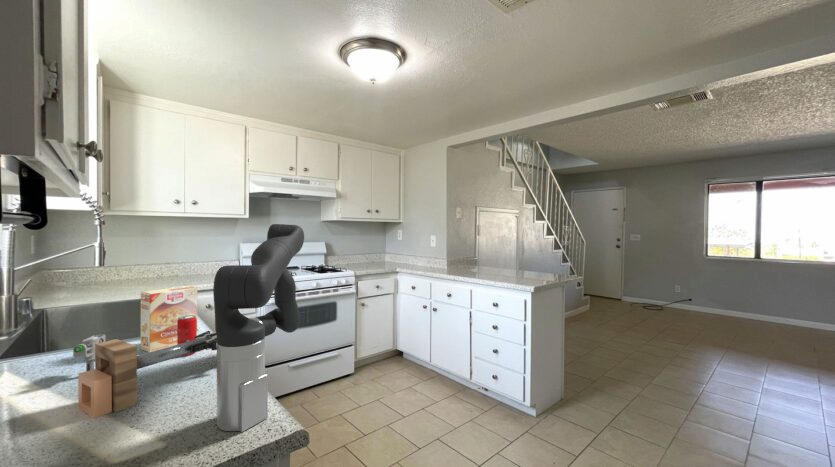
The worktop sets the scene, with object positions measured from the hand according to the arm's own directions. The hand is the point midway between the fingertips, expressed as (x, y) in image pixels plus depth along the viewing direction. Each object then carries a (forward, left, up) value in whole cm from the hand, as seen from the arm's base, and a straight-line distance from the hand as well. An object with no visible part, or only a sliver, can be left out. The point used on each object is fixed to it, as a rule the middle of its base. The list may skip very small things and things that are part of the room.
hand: (187, 348), depth 95 cm
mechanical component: (+24, +12, -8) cm, 28 cm away
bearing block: (0, +16, -8) cm, 18 cm away
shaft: (0, +4, -2) cm, 5 cm away
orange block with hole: (0, +20, -8) cm, 21 cm away
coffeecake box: (+32, -12, -8) cm, 35 cm away
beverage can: (+18, -10, -8) cm, 22 cm away
